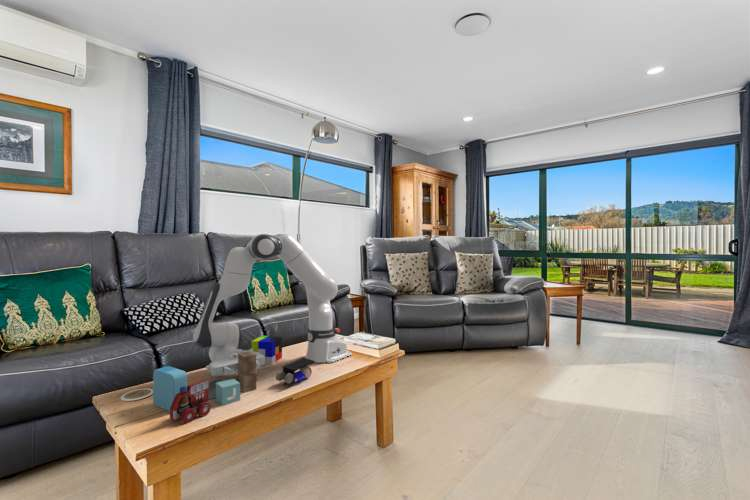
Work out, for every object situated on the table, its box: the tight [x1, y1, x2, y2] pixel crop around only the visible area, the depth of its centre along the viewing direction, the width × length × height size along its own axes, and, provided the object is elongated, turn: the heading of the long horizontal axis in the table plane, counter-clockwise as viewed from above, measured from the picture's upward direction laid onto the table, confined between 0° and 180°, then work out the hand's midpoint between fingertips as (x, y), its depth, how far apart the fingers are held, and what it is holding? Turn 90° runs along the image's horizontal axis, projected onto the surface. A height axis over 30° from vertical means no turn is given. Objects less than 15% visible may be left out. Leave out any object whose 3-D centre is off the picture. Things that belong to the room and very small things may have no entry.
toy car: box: [275, 357, 315, 388], centre depth 143 cm, size 7×8×15 cm
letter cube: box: [215, 378, 241, 406], centre depth 126 cm, size 6×6×6 cm
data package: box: [152, 365, 188, 412], centre depth 121 cm, size 12×4×12 cm, turn 59°
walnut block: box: [237, 351, 257, 393], centre depth 136 cm, size 4×6×13 cm
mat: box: [209, 379, 224, 401], centre depth 135 cm, size 10×16×1 cm, turn 43°
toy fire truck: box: [169, 378, 212, 424], centre depth 114 cm, size 7×12×10 cm, turn 148°
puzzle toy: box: [250, 335, 283, 365], centre depth 169 cm, size 10×10×10 cm
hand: (246, 369), depth 137 cm, fingers open, 8 cm apart
